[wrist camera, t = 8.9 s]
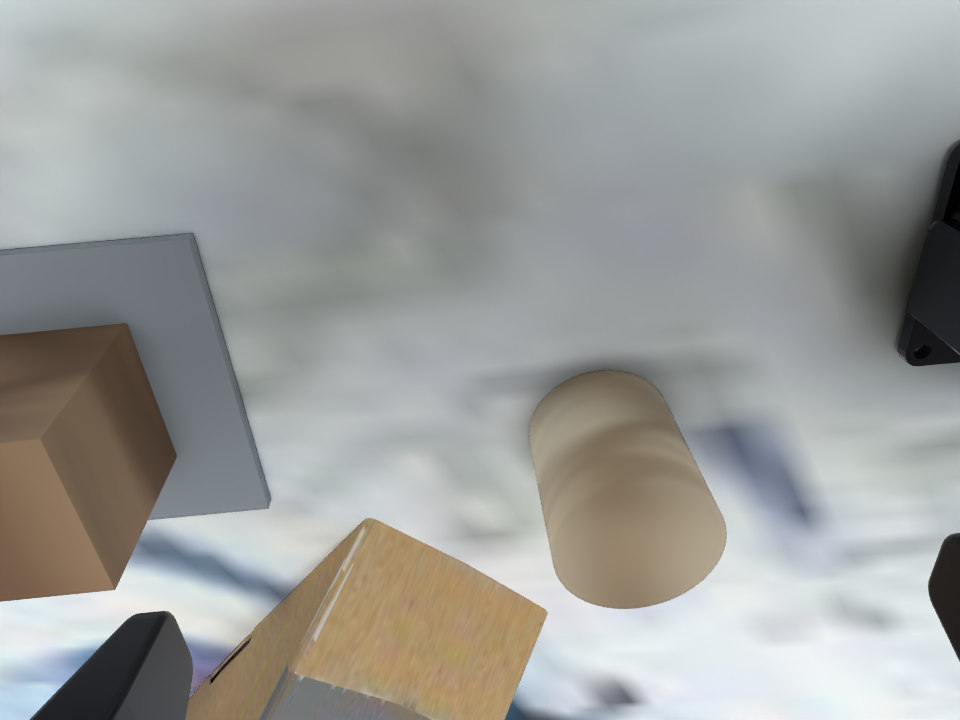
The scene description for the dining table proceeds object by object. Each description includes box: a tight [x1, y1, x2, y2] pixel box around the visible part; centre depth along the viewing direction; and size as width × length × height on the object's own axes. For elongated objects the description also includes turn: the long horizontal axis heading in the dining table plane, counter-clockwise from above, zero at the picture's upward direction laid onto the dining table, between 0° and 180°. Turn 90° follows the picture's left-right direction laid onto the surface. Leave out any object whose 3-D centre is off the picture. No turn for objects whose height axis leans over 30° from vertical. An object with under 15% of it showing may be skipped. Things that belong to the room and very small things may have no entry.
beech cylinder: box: [529, 370, 727, 609], centre depth 20 cm, size 4×4×5 cm
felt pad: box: [0, 233, 271, 520], centre depth 20 cm, size 9×9×1 cm
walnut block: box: [0, 323, 177, 602], centre depth 18 cm, size 4×4×5 cm
